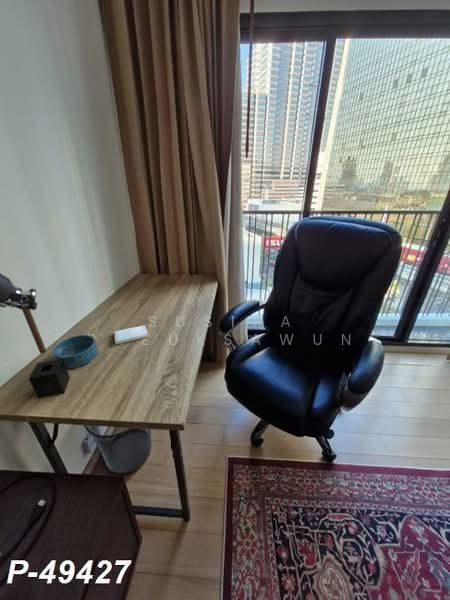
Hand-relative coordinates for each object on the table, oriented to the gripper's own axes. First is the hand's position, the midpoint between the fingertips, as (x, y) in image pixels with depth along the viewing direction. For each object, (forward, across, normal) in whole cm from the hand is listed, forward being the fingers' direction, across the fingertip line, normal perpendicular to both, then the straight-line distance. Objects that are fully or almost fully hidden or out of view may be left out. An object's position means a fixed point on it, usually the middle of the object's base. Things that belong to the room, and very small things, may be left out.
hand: (30, 306), depth 70 cm
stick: (+8, 0, +11) cm, 14 cm away
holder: (+17, 0, +21) cm, 27 cm away
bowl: (+27, -2, +11) cm, 29 cm away
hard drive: (+35, -18, +3) cm, 40 cm away
